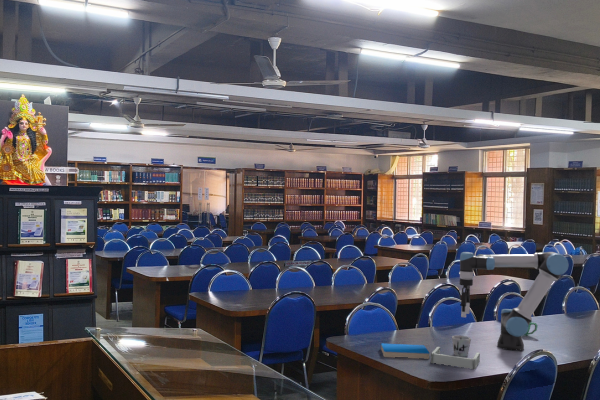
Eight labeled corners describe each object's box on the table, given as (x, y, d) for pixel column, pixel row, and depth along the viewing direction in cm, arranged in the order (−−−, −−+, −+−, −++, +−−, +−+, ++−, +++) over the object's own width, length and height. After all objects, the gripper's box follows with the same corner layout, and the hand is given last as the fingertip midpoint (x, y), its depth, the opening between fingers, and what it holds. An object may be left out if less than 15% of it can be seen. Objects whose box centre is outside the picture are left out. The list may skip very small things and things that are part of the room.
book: (429, 352, 304) (384, 350, 305) (429, 360, 304) (384, 358, 305) (424, 344, 322) (380, 342, 322) (423, 352, 322) (380, 349, 322)
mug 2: (512, 334, 372) (512, 319, 372) (521, 332, 377) (521, 317, 377) (532, 338, 360) (533, 323, 360) (541, 337, 365) (541, 321, 365)
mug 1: (450, 356, 312) (450, 338, 312) (453, 349, 326) (453, 332, 326) (469, 358, 308) (470, 340, 308) (471, 352, 322) (472, 334, 322)
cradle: (479, 361, 302) (479, 352, 302) (475, 369, 287) (475, 359, 287) (437, 355, 312) (437, 346, 312) (430, 362, 297) (430, 353, 297)
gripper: (463, 275, 340) (462, 311, 340) (456, 280, 319) (455, 318, 319) (475, 276, 337) (474, 312, 337) (469, 281, 316) (468, 319, 315)
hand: (465, 315), depth 328 cm, fingers open, 11 cm apart
